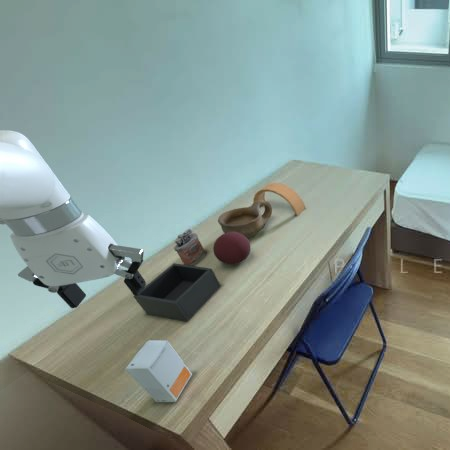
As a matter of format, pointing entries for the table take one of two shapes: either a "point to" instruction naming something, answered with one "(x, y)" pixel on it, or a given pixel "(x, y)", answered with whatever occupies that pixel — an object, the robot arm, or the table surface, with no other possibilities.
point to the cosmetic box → (159, 371)
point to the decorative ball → (232, 248)
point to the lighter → (189, 248)
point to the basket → (178, 292)
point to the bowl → (246, 219)
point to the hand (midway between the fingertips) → (110, 296)
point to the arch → (283, 192)
